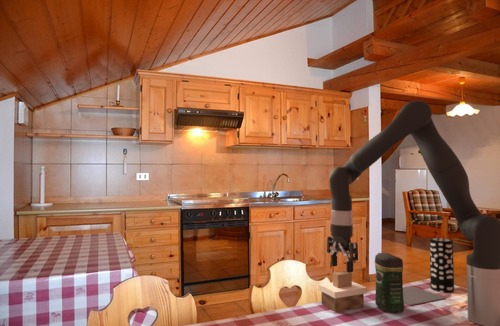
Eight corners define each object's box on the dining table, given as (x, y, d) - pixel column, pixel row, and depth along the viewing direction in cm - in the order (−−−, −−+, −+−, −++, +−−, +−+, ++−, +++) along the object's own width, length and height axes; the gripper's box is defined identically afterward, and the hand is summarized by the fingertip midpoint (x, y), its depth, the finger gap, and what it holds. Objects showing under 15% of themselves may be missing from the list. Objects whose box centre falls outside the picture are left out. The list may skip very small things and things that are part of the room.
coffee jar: (408, 313, 112) (407, 257, 113) (385, 314, 111) (384, 257, 112) (393, 303, 121) (392, 250, 122) (372, 303, 121) (371, 251, 122)
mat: (412, 287, 139) (412, 286, 139) (445, 298, 126) (445, 297, 126) (378, 292, 132) (378, 291, 133) (410, 305, 119) (410, 304, 119)
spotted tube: (454, 294, 131) (452, 242, 132) (429, 290, 135) (428, 240, 136) (454, 288, 138) (453, 239, 139) (431, 285, 142) (430, 237, 143)
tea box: (348, 299, 125) (348, 282, 125) (363, 306, 118) (363, 289, 118) (321, 303, 120) (321, 286, 121) (335, 312, 113) (335, 293, 113)
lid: (348, 285, 126) (348, 267, 126) (366, 293, 117) (366, 274, 118) (318, 289, 121) (318, 271, 121) (334, 298, 112) (334, 278, 113)
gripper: (321, 221, 125) (321, 265, 125) (346, 226, 112) (346, 275, 111) (337, 220, 128) (337, 263, 127) (364, 225, 115) (364, 273, 114)
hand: (341, 269), depth 119 cm, fingers open, 8 cm apart
